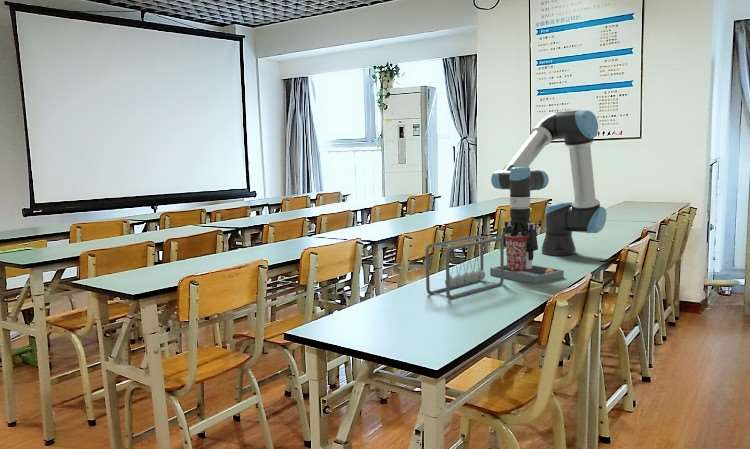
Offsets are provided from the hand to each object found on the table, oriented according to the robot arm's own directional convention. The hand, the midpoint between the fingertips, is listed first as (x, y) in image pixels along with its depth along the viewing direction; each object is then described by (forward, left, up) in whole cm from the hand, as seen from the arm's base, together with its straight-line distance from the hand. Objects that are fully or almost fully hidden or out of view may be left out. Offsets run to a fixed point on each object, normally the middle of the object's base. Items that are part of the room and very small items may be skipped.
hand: (520, 266), depth 228 cm
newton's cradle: (+30, +1, -4) cm, 30 cm away
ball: (-5, +10, -3) cm, 12 cm away
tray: (0, +3, -4) cm, 5 cm away
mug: (0, 0, -1) cm, 1 cm away
